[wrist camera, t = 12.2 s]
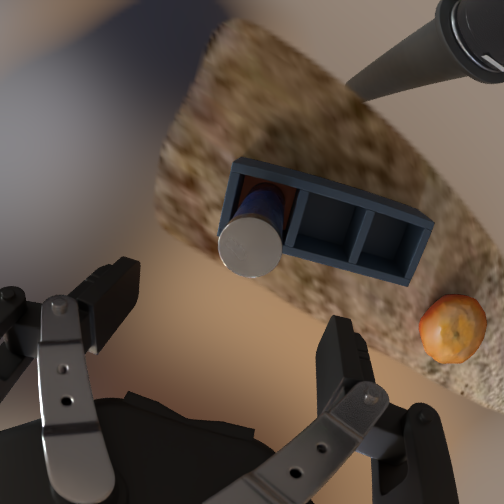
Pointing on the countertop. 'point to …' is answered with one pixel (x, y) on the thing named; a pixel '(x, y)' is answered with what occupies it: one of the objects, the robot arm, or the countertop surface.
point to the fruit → (453, 328)
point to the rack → (336, 222)
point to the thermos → (255, 233)
